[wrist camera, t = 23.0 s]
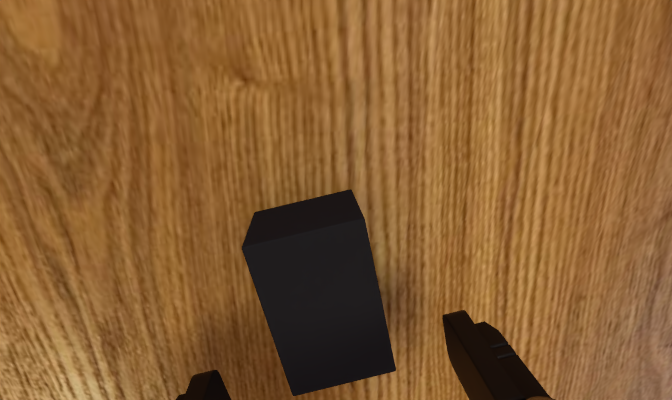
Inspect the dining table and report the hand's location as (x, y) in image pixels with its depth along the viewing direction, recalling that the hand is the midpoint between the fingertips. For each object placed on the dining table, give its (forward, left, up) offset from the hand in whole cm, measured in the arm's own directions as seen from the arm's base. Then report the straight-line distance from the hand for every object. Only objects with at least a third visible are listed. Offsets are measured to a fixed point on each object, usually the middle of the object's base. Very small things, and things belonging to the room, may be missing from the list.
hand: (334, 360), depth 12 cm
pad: (0, 0, -7) cm, 7 cm away
